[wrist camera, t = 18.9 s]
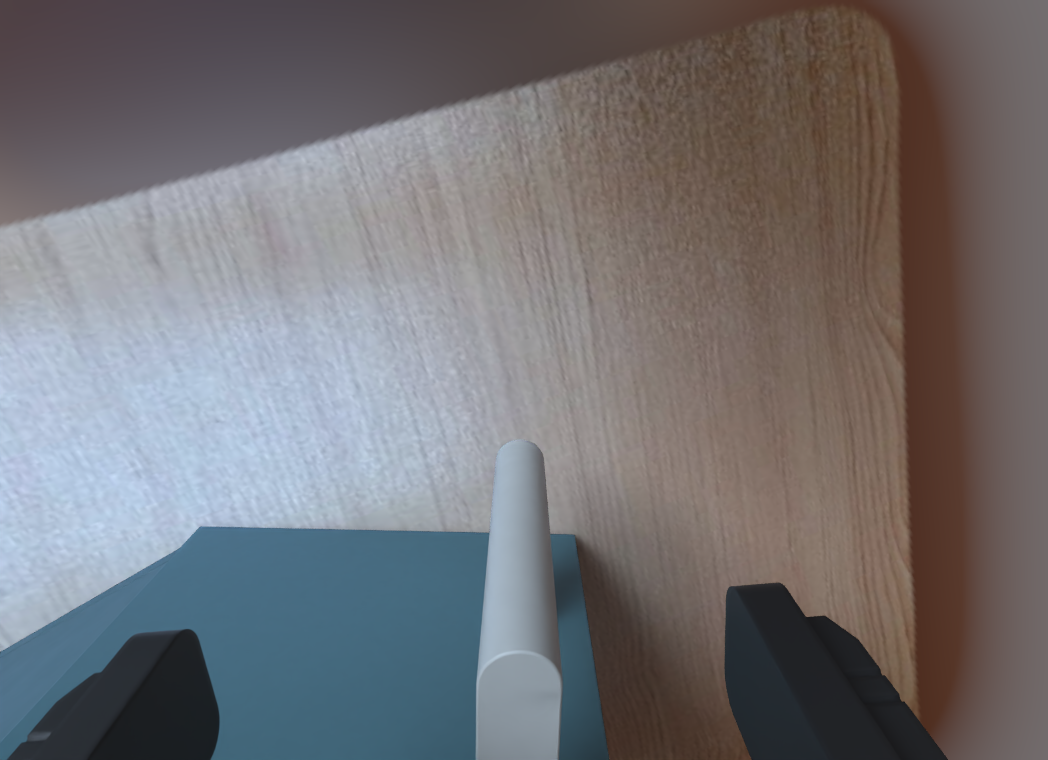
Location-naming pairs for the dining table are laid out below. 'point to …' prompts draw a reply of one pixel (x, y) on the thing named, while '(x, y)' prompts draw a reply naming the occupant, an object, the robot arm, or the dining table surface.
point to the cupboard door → (381, 637)
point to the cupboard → (60, 647)
